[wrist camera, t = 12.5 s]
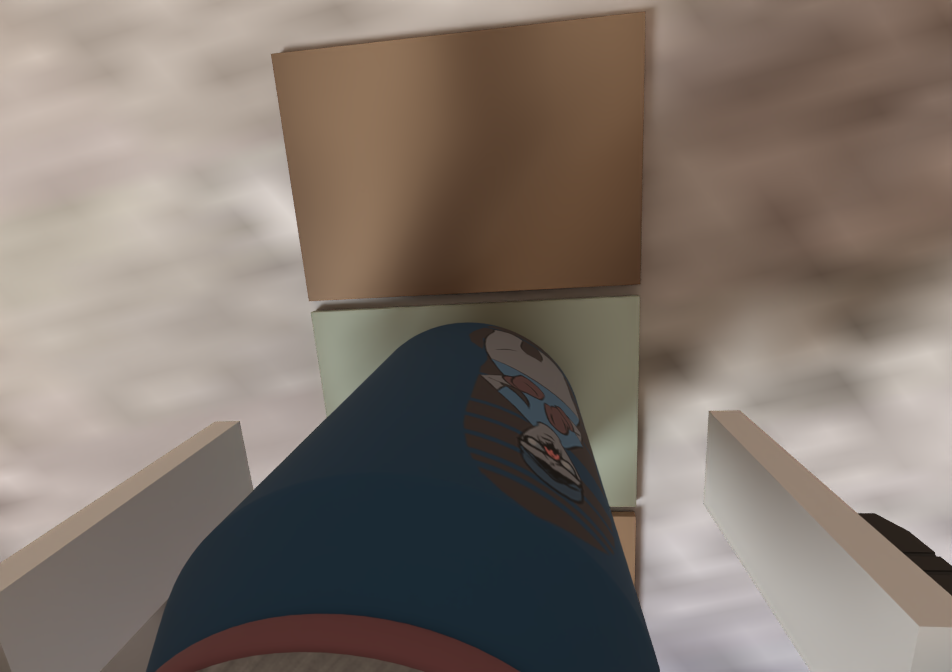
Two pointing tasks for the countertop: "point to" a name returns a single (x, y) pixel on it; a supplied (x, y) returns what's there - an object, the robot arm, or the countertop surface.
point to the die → (137, 647)
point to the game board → (479, 203)
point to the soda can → (421, 533)
